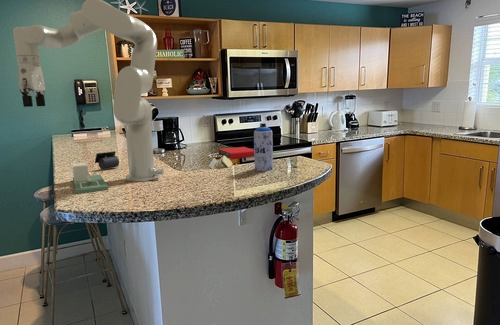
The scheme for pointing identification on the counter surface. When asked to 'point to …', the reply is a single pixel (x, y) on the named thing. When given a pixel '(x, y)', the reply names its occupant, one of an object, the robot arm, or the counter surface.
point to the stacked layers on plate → (220, 162)
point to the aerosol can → (263, 148)
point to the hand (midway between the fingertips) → (34, 106)
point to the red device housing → (236, 152)
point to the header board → (96, 185)
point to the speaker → (107, 160)
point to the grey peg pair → (89, 179)
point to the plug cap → (80, 171)
